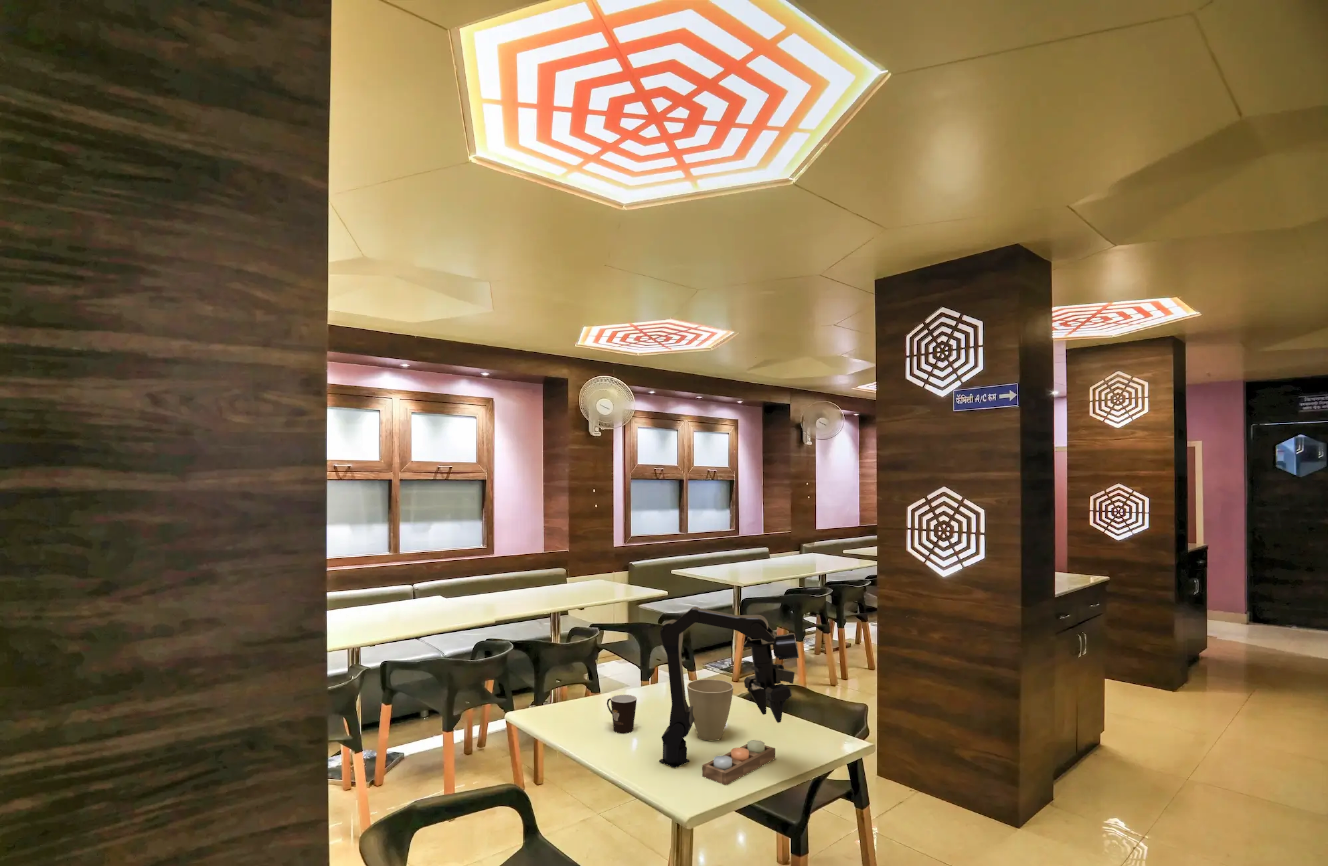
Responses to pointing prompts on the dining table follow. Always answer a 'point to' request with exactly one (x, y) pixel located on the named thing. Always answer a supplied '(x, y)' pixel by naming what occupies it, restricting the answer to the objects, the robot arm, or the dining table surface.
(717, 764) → the slate button
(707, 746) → the dining table surface
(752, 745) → the sage button
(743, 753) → the terracotta button
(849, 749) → the dining table surface
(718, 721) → the plant pot
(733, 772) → the brown wooden flat tray
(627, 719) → the coffee mug
